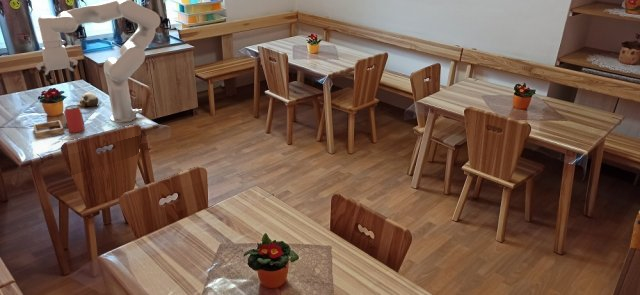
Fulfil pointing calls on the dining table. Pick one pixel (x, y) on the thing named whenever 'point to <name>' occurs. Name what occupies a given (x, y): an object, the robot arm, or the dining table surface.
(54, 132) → the tray
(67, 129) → the coaster
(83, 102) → the skull
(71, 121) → the beer can
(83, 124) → the brown square pot
